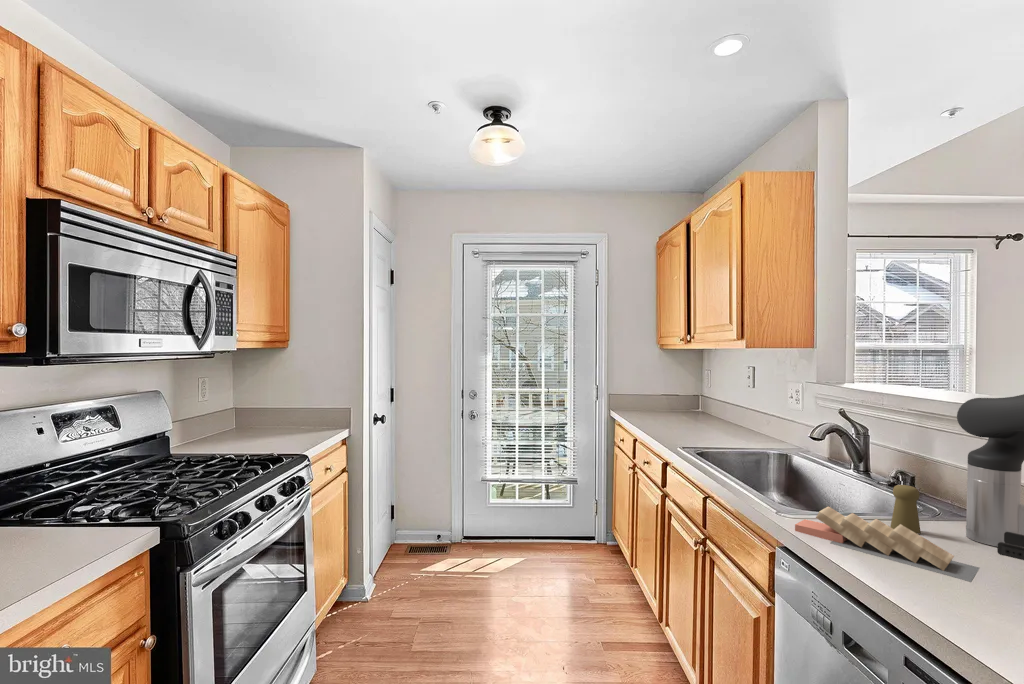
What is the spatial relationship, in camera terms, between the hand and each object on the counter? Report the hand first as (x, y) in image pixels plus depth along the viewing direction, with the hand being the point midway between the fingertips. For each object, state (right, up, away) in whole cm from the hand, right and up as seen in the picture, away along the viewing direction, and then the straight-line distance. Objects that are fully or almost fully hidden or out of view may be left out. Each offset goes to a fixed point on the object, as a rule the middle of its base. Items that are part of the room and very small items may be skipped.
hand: (1001, 542), depth 99 cm
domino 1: (-17, -6, +19) cm, 26 cm away
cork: (+2, -8, +27) cm, 29 cm away
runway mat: (-10, -8, +12) cm, 17 cm away
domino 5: (-5, -6, +6) cm, 10 cm away
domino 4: (-8, -6, +9) cm, 14 cm away
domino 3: (-11, -6, +13) cm, 18 cm away
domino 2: (-14, -6, +16) cm, 23 cm away
